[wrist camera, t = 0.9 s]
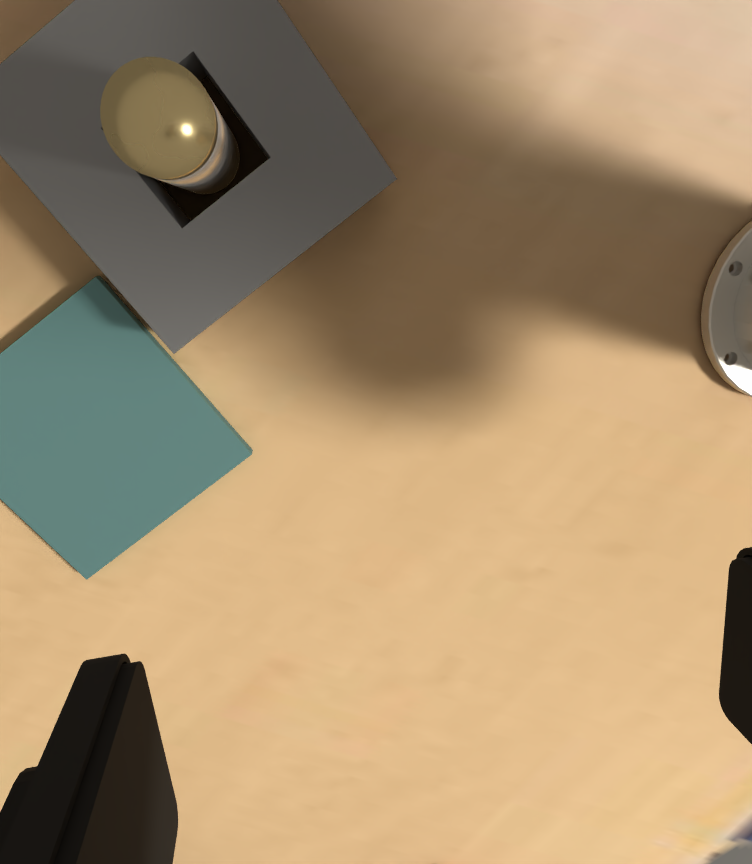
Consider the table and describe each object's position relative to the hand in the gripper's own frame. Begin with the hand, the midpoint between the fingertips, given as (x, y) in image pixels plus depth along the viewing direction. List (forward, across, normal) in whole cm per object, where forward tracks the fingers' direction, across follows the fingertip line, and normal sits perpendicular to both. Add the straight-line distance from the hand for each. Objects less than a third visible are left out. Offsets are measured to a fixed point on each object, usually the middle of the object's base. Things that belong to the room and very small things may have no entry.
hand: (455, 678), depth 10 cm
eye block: (+31, +5, -11) cm, 33 cm away
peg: (+31, +5, -11) cm, 33 cm away
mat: (+31, +14, +4) cm, 34 cm away
